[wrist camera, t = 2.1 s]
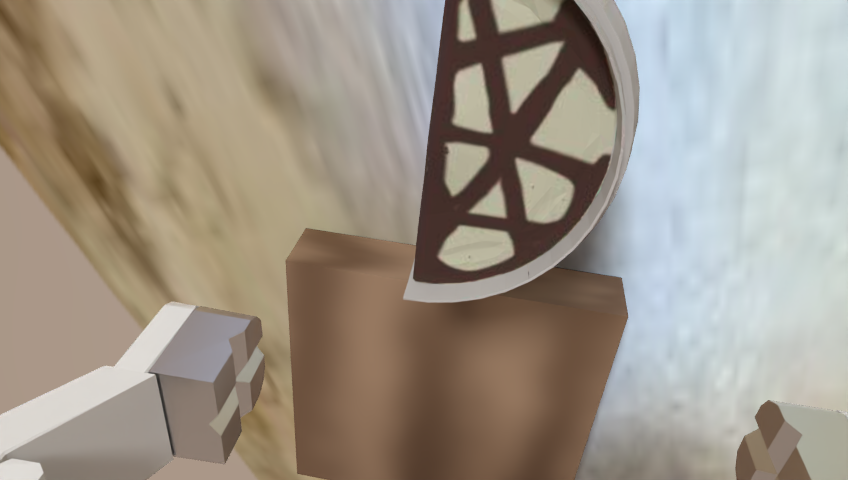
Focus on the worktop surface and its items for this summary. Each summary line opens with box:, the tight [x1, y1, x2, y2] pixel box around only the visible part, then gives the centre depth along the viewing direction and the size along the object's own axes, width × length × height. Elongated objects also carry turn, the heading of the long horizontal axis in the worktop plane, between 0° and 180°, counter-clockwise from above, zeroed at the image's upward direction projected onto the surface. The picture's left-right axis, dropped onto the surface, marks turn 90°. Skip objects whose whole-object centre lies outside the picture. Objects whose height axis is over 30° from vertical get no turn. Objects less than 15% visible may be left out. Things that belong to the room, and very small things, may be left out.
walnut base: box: [286, 228, 628, 480], centre depth 34 cm, size 16×16×3 cm
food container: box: [403, 0, 640, 303], centre depth 22 cm, size 12×6×10 cm, turn 174°
